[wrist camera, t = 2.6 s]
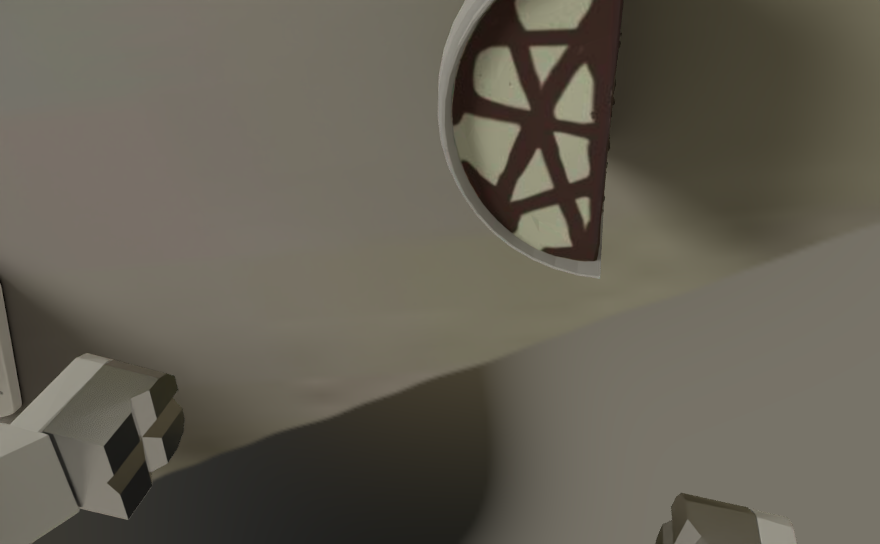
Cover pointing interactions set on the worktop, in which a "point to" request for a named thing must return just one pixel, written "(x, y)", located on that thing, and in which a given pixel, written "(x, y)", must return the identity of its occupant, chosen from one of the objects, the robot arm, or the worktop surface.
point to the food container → (533, 121)
